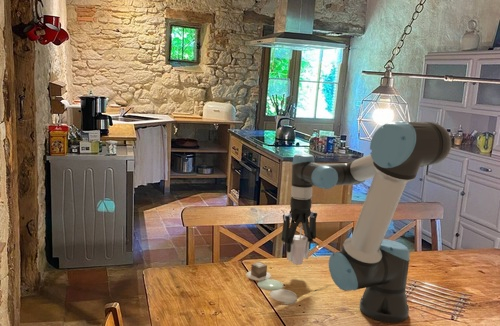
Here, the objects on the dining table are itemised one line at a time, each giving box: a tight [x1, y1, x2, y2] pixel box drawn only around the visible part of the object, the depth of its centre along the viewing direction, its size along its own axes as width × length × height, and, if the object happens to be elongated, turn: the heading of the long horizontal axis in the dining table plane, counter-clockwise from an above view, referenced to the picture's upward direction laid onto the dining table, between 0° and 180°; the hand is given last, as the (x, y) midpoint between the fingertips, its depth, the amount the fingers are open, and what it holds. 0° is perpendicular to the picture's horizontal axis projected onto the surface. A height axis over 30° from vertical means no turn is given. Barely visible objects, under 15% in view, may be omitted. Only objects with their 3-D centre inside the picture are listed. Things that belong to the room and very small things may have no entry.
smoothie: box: [292, 225, 308, 266], centre depth 167 cm, size 6×6×14 cm
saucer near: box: [269, 288, 298, 306], centre depth 153 cm, size 9×9×1 cm
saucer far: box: [245, 270, 272, 282], centre depth 168 cm, size 9×9×1 cm
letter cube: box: [250, 261, 268, 278], centre depth 168 cm, size 4×4×4 cm
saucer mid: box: [257, 278, 284, 292], centre depth 161 cm, size 9×9×1 cm
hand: (297, 258), depth 168 cm, fingers closed on smoothie, 6 cm apart
